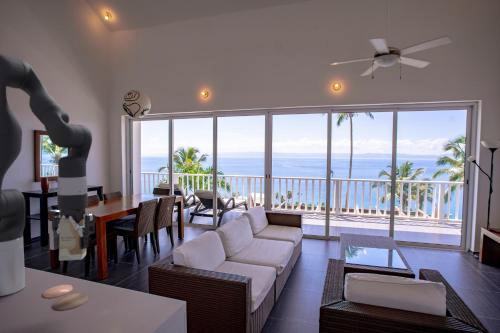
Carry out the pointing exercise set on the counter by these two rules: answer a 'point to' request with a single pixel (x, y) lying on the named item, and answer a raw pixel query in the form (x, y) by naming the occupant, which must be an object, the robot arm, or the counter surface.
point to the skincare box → (70, 241)
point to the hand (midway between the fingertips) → (73, 246)
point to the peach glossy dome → (57, 291)
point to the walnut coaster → (70, 301)
